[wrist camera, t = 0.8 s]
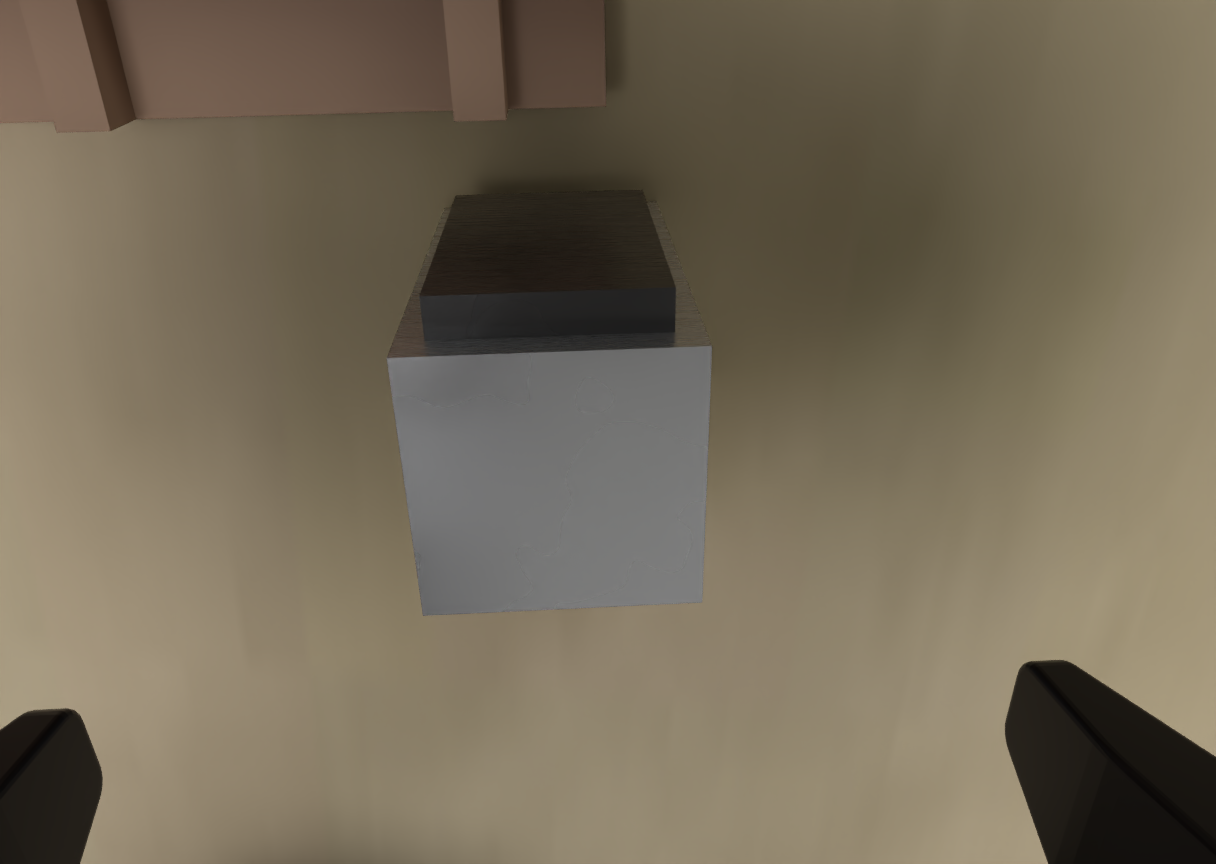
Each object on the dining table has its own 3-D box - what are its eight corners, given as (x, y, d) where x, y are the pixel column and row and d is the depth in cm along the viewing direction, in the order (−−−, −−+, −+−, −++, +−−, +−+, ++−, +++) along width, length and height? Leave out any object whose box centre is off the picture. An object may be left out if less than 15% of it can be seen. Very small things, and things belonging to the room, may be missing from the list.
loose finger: (655, 391, 20) (702, 601, 13) (463, 398, 19) (422, 615, 13) (656, 169, 17) (713, 300, 11) (441, 175, 17) (380, 312, 11)
